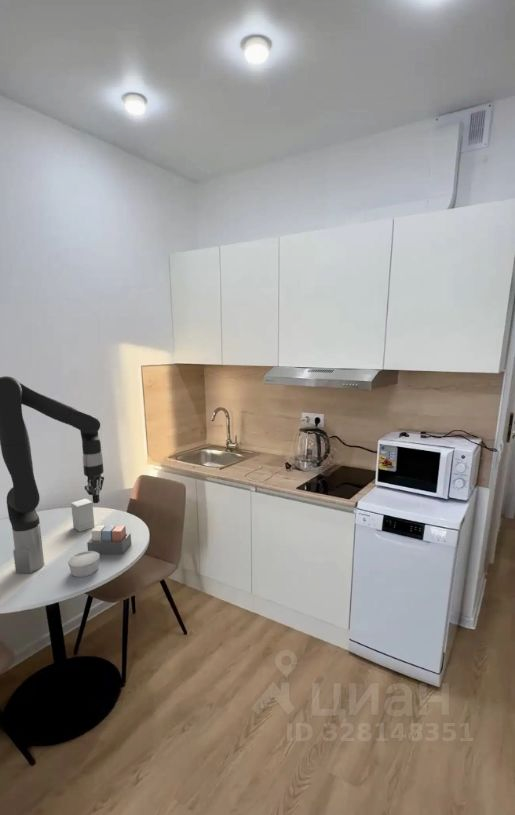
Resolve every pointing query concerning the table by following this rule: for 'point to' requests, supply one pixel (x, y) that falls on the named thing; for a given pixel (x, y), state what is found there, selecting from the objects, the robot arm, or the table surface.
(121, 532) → the pink block
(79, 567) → the ramekin
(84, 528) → the supplement box
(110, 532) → the slate blue key
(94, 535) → the ivory key
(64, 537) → the table surface
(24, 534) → the robot arm
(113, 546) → the dark grey tray
